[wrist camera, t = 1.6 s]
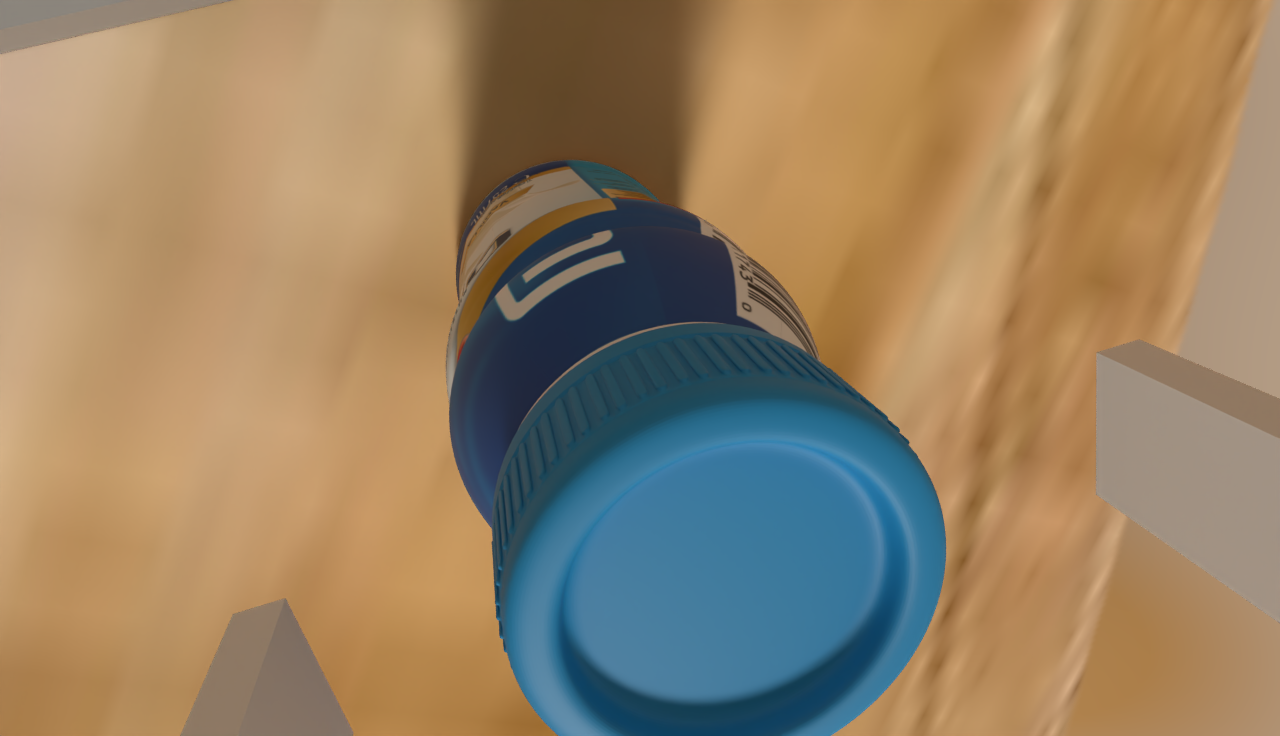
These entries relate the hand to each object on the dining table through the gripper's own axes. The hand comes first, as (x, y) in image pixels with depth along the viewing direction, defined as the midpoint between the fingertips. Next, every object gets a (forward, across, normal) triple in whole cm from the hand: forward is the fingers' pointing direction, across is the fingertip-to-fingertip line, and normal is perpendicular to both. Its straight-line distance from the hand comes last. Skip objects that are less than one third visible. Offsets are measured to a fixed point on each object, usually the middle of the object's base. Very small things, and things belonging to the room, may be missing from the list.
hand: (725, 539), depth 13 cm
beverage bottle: (+19, 0, 0) cm, 19 cm away
